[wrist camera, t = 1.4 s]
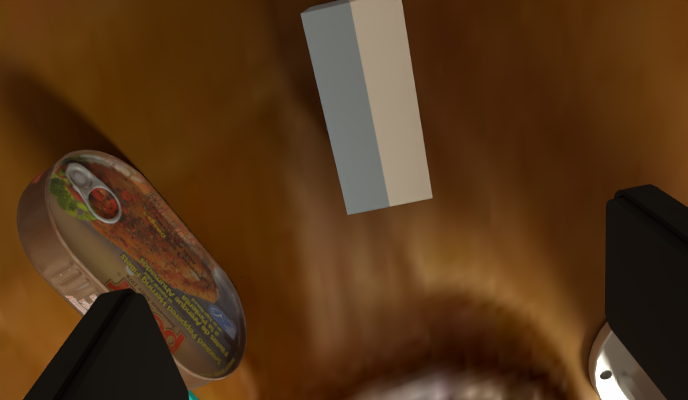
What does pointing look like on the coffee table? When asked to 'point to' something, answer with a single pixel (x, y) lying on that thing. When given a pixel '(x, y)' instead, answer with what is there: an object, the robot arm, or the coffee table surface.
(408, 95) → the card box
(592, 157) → the coffee table surface
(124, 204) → the tin
